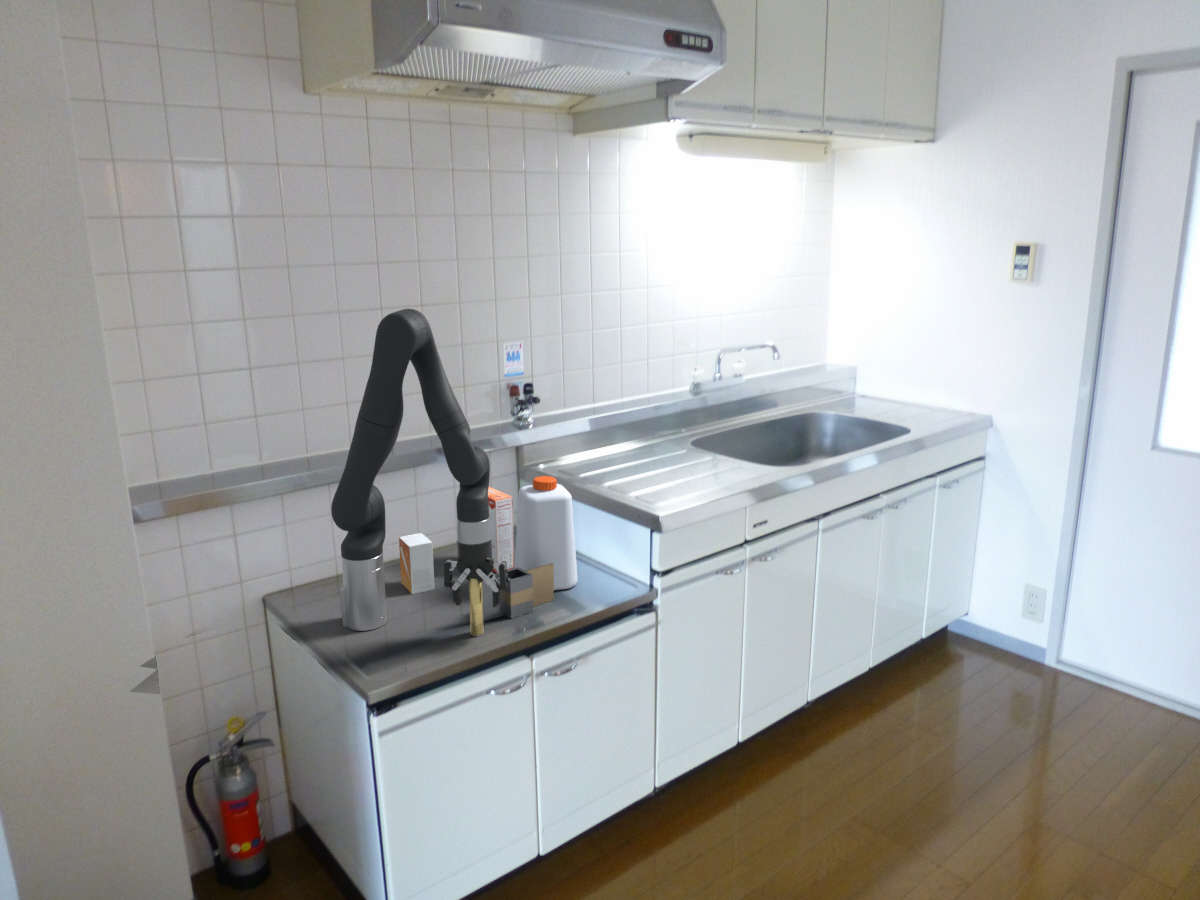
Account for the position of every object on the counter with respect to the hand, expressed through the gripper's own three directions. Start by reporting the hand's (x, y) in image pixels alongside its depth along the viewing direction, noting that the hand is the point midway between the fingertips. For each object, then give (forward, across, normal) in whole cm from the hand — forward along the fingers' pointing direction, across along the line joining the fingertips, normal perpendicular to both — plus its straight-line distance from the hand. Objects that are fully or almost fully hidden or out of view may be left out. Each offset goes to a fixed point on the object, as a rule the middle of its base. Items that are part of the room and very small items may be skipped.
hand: (477, 604), depth 196 cm
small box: (+7, -23, +24) cm, 34 cm away
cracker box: (+7, -8, +42) cm, 43 cm away
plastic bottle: (+8, +9, +32) cm, 34 cm away
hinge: (+7, +5, +13) cm, 16 cm away
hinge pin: (+7, 0, 0) cm, 7 cm away
